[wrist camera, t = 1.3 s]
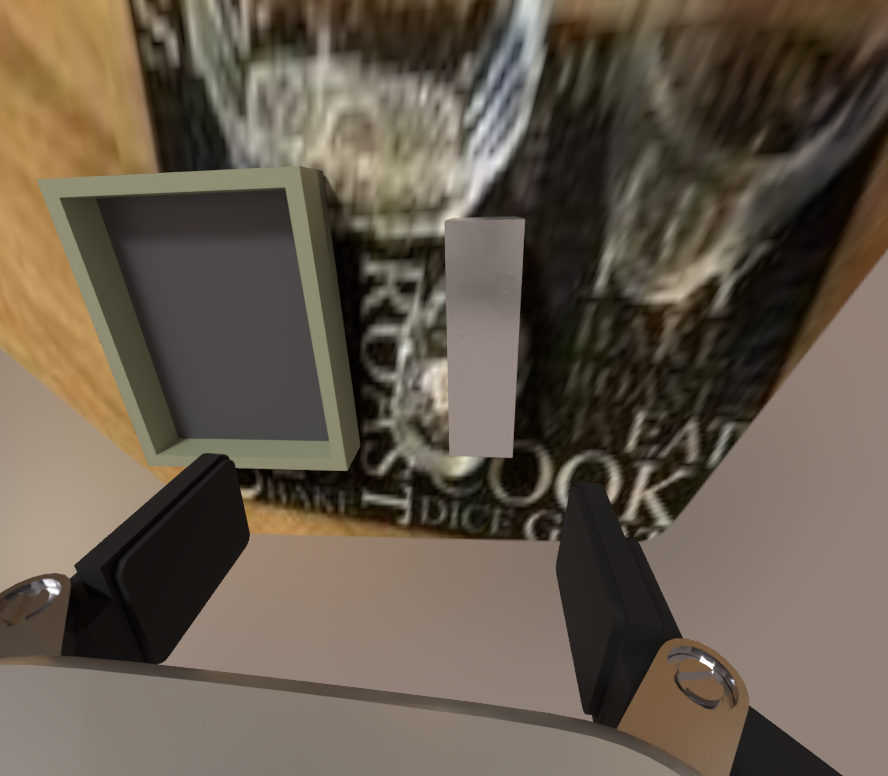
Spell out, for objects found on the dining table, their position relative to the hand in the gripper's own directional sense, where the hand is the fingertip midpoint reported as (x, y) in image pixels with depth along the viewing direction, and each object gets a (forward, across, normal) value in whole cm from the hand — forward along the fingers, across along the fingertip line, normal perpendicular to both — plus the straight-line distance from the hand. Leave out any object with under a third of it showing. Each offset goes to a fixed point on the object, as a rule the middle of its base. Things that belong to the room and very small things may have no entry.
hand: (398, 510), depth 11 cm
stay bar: (+19, -2, 0) cm, 20 cm away
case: (+19, +16, +1) cm, 25 cm away
